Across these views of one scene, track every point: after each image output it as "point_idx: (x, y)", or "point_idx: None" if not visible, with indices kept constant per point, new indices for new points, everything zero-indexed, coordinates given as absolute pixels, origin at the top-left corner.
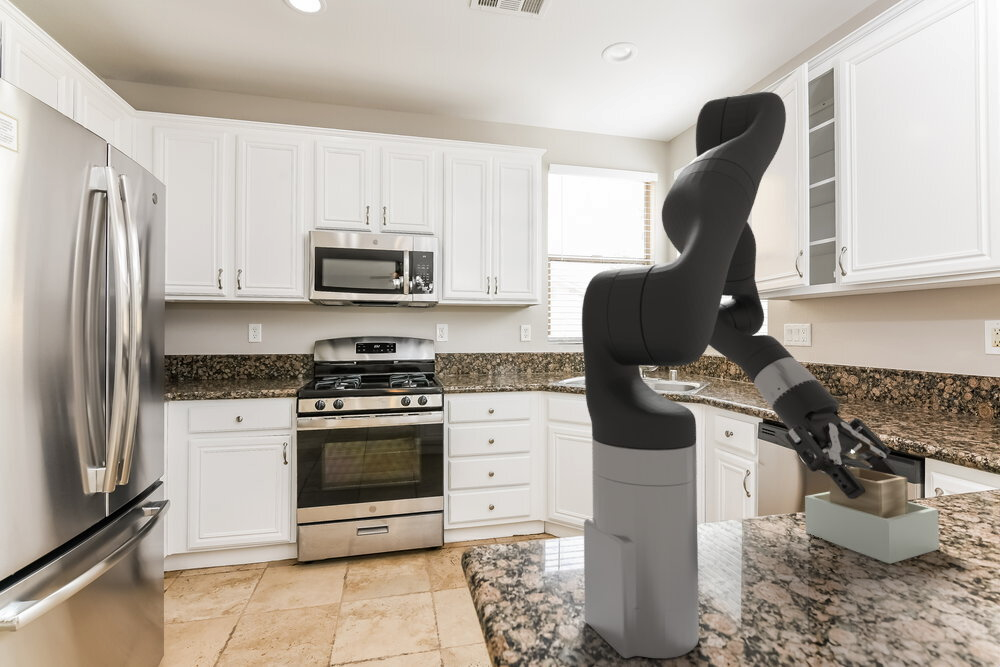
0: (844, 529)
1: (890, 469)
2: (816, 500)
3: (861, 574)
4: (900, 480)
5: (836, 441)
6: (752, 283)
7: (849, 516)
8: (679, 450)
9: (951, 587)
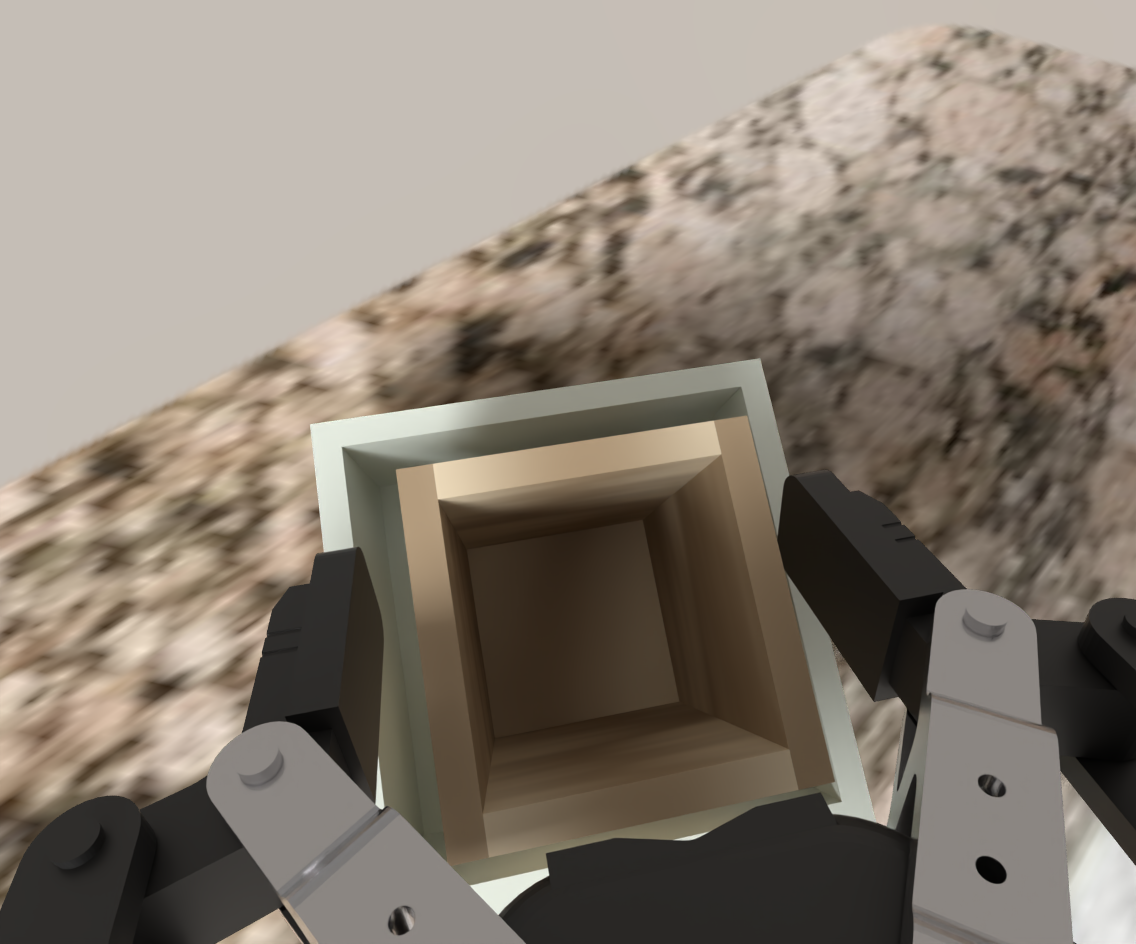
0: None
1: (350, 627)
2: (852, 746)
3: (876, 385)
4: (483, 459)
5: (974, 791)
6: None
7: None
8: None
9: (665, 246)
